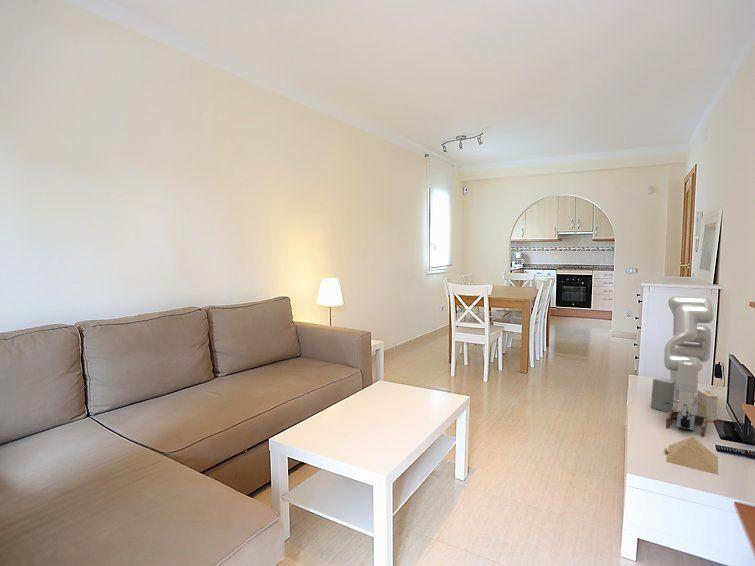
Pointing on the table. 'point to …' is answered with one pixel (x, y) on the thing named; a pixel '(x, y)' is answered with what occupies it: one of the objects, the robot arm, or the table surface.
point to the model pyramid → (692, 455)
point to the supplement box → (707, 405)
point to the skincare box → (662, 394)
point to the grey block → (691, 418)
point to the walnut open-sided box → (698, 419)
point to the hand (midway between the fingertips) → (685, 425)
